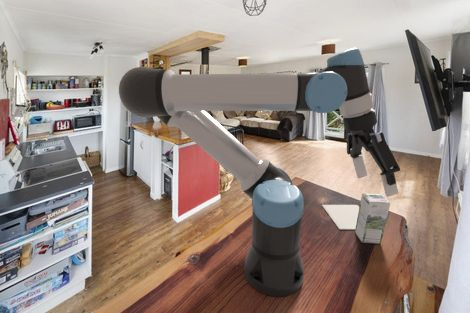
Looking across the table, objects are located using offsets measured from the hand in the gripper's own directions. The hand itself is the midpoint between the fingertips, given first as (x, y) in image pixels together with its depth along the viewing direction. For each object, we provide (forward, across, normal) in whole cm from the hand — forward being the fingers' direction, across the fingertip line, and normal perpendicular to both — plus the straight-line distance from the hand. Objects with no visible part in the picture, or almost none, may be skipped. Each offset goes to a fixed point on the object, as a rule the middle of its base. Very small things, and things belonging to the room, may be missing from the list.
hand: (375, 184), depth 65 cm
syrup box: (+20, +4, +5) cm, 21 cm away
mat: (+19, +17, +4) cm, 26 cm away
